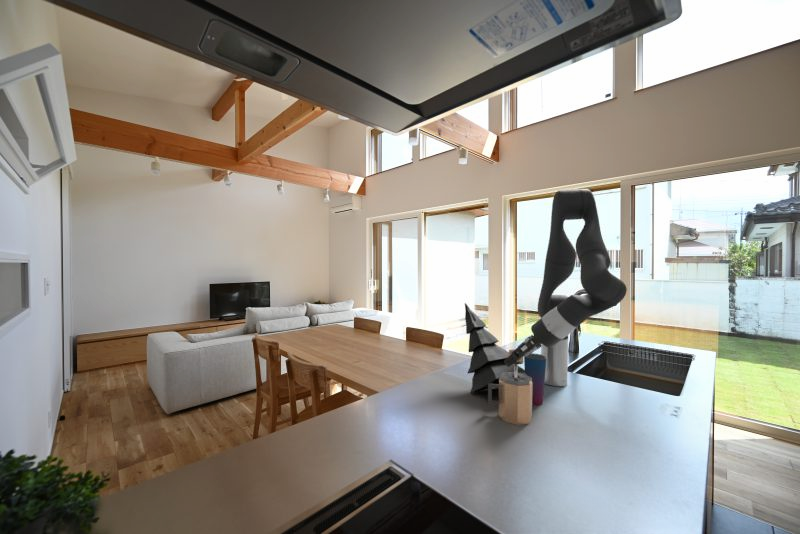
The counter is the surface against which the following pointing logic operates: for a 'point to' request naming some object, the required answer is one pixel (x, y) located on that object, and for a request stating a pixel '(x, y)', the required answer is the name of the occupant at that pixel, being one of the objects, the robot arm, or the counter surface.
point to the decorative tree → (485, 354)
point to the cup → (536, 375)
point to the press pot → (513, 398)
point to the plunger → (516, 363)
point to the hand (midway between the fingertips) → (509, 361)
